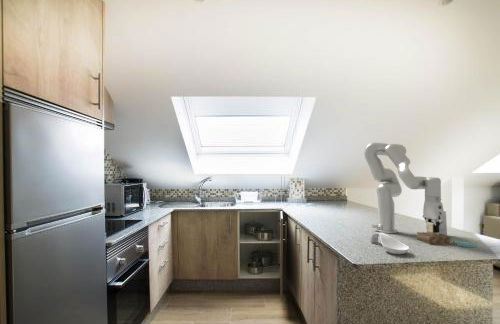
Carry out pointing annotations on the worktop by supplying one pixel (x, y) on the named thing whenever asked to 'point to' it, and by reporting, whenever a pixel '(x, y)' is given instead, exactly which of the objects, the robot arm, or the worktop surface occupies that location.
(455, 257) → the worktop surface
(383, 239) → the spoon rest
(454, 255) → the worktop surface
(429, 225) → the maple peg
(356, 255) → the worktop surface
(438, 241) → the walnut socket block
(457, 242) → the teal rubber pad
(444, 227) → the skincare box
